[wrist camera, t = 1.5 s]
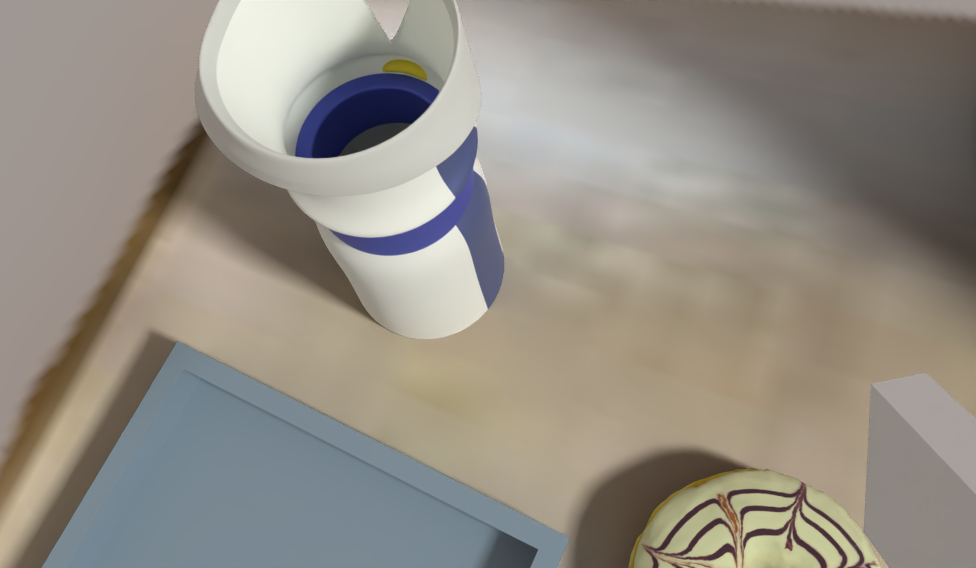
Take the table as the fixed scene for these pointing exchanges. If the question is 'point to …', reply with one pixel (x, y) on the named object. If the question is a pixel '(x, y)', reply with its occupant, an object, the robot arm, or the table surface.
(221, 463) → the blue-gray tray
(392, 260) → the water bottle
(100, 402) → the table surface
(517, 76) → the table surface
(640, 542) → the decorated donut
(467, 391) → the table surface
